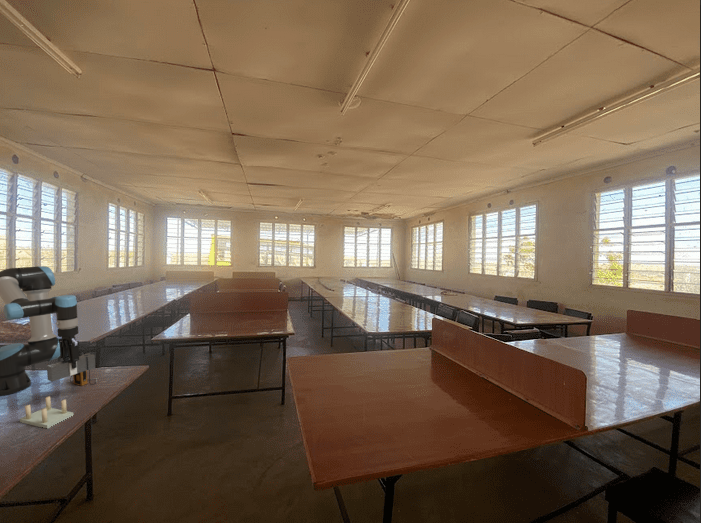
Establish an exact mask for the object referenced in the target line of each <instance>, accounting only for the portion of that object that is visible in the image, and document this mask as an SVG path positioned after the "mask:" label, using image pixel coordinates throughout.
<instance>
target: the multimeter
mask: <svg viewBox="0 0 701 523" xmlns="http://www.w3.org/2000/svg"><path fill="white" fill-rule="evenodd" d="M81 352H82V353H83V355H84V354H86V353H85V352H84V351H83V350H79V356H81V355H80V353H81ZM88 373H89V375H88ZM90 374H91V370H86V371H83V372H80V373H77V374H74V375H71V376H70V379H69V382H70V383H73V384H74V385H78V386H80V387H83V386H85V385H88V383H89V385H90V386H91V385H92V386H93V385H94V384H97V382H98V380H97V379H98V377H94V378H91V377H90V376H91V375H90ZM88 376H89V377H88ZM72 378H73V381H71V379H72ZM92 380H95V382H94V383H91V381H92Z"/></svg>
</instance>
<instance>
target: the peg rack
mask: <svg viewBox="0 0 701 523" xmlns="http://www.w3.org/2000/svg"><path fill="white" fill-rule="evenodd" d="M24 408H25V410H24V411H25V416H23V417H21V418H19V423H21V422H22V424H26V425H31V426H35V427H37V428H38V427H39V428H42V427H43V428H42V429H46V428H47V430H48V429H50V428H52V427H54V426H55V424H56V425H58V424H60V423H61V421H62V422H64V421H66V420H68V419H70V418H72V417H73V415H74V412H72V411H68V410H67V409H68V408H67V399H66V398H65V399H62V400H61V409H57V408H54V407H52V402H51V396H46V397H45V407H43V408H41V409H39V410H37V411H34V412H32V408H31V404H26V405H25V406H24ZM71 416H72V417H71ZM69 417H70V418H69ZM67 418H68V419H67ZM65 419H66V420H65ZM63 420H64V421H63ZM59 422H60V423H59ZM57 423H58V424H57ZM53 425H54V426H53ZM51 426H52V427H51Z"/></svg>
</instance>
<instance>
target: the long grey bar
mask: <svg viewBox="0 0 701 523" xmlns="http://www.w3.org/2000/svg"><path fill="white" fill-rule="evenodd" d="M95 358H96V355H95V354H91V353H90V352H88V353H85V354H84V353H83V354H81V355H80V356H79V360H78V361H77V373H80V372H83V371H86V370H87V371H89V370H90V371H91V370H93V369H96V359H95ZM68 362H70V359H68V360H65V361H64V360H62V361H59V362H54V363H52V364H48V365H46V374H47V381H49V382H53V383H54V382H56V381H58V380H61V379H65V378H68V377H71V376H70V372H69V363H68Z"/></svg>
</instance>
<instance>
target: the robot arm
mask: <svg viewBox="0 0 701 523" xmlns="http://www.w3.org/2000/svg"><path fill="white" fill-rule="evenodd" d="M55 285H56V277H55V275H54V272H53V271H52V268H50V266H43V265H42V266H29V267H28V266H25V267H10V268H5V269H1V270H0V298H1V300H2V302H4V304H5V305H4V306H3V314H4V317H5V319H6V320H10V321H11V320H20V319H21V320H22V319H27V318H29V327H30V335H31V336H30V338H28V340H27V344H23V343H21V342H17V343H11V344H7V345H4V346H1V347H0V397H2V396H9V395H12V394H16V393H19V392H21V391H24V390H27V389H28V388H30V387H31V385H32V381H31V378H30V376H29V375H28V373H27V372H26V367H30V366H33V365H38V364H42V363H46V362H51V361H53V360H56V359H59V357H60V359H62V361H65V360H68V359H70V362H68V363H69V372H70V376H69V377H71V376H73V375H74V374H77V361H78V360H79V351H80V341H79V340H77V341H76V335H78V334H79V318H78V301H77V297H76V295H74V294H64V295H59V296H52V297H50V296H49V292H50V291H51V290H52V287H54V286H55ZM52 314H53V315H54V314H56V316H55V317H56V322H55V325H56V327H57V330H56V331H57V334H54V333H53V332H54V331H53V323H52Z"/></svg>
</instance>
